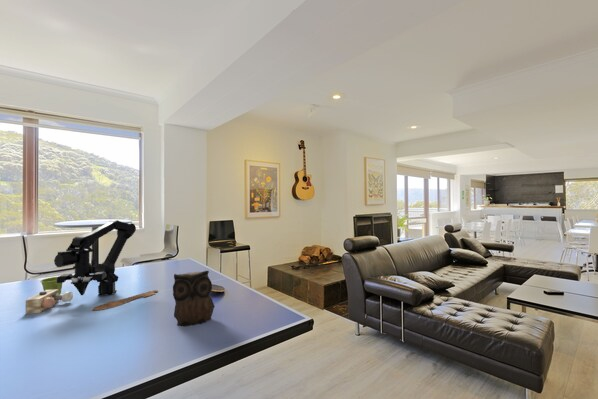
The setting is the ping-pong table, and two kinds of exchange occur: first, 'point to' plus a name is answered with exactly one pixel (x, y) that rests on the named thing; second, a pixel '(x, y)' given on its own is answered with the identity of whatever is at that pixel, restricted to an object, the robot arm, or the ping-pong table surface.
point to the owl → (192, 298)
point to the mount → (39, 301)
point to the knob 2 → (64, 296)
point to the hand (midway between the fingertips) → (82, 295)
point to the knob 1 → (48, 302)
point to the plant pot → (51, 284)
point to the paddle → (123, 301)
